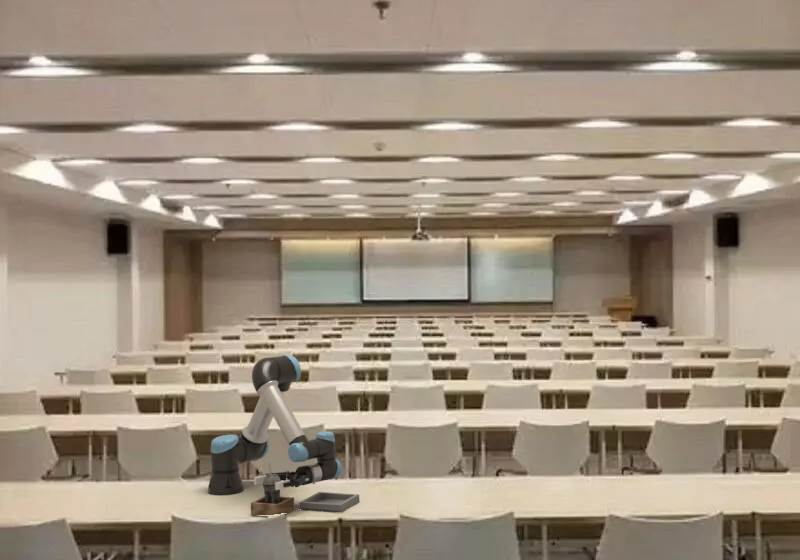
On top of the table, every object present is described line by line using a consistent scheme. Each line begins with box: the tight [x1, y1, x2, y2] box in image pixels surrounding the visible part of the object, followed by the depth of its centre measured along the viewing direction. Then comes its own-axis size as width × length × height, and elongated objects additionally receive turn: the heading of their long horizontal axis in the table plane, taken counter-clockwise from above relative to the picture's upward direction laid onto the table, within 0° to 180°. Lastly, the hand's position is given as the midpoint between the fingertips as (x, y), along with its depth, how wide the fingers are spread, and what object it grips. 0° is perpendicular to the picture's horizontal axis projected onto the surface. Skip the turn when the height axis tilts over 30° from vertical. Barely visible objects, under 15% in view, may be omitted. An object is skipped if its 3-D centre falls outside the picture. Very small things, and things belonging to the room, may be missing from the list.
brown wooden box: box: [250, 495, 295, 516], centre depth 382 cm, size 12×12×5 cm
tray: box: [298, 491, 360, 513], centre depth 391 cm, size 18×18×3 cm
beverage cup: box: [262, 462, 281, 504], centre depth 382 cm, size 7×7×20 cm
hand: (265, 483), depth 380 cm, fingers open, 13 cm apart
